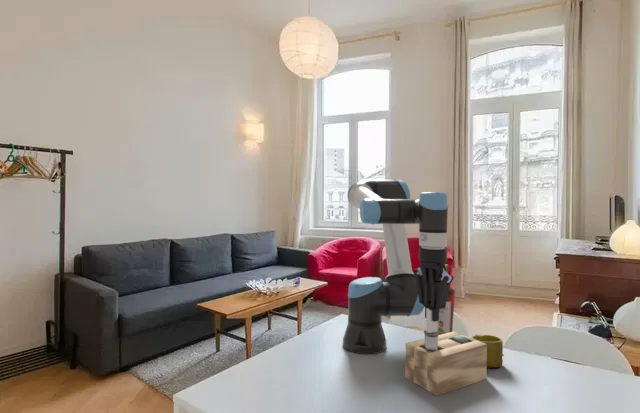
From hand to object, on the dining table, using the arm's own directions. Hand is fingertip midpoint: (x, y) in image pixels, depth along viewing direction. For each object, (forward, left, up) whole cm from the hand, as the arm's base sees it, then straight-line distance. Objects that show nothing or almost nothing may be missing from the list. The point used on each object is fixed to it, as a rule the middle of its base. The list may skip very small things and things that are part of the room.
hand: (431, 331), depth 108 cm
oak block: (0, +6, -15) cm, 16 cm away
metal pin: (0, 0, -10) cm, 10 cm away
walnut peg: (0, +12, -14) cm, 19 cm away
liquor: (-20, +27, -15) cm, 37 cm away
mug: (-2, +26, -15) cm, 30 cm away
